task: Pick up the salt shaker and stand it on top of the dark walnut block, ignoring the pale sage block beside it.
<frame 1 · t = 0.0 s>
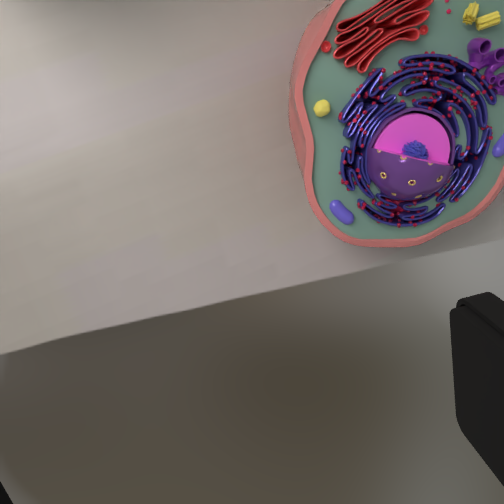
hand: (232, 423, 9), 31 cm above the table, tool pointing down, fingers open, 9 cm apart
cell model: (371, 101, 38), on the table
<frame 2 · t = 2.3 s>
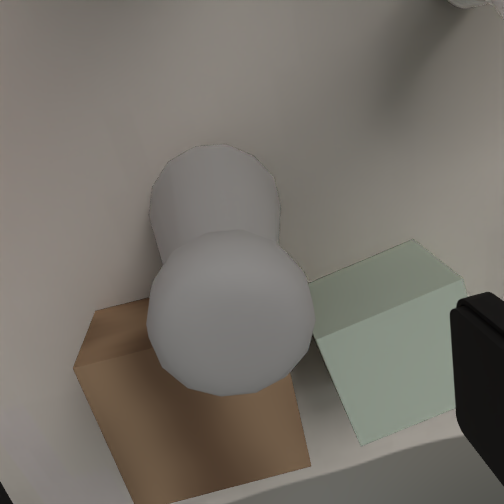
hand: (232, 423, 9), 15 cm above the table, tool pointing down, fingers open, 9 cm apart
walnut block: (200, 358, 26), on the table
sage block: (371, 315, 27), on the table
salt shaker: (213, 194, 23), on the table
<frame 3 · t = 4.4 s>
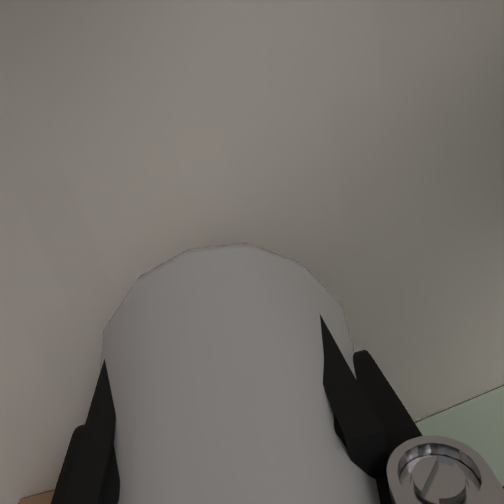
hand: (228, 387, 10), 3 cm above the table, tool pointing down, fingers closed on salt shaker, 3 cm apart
sage block: (469, 479, 17), on the table
salt shaker: (221, 311, 13), on the table, touching gripper
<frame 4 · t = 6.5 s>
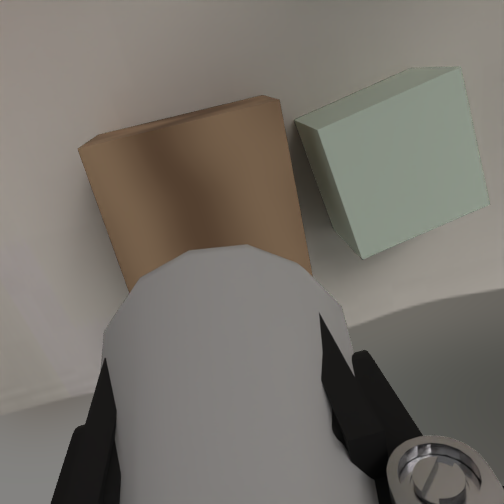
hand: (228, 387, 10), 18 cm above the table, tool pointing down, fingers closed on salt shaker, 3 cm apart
walnut block: (202, 194, 27), on the table
sage block: (370, 152, 27), on the table
salt shaker: (221, 312, 13), point 14 cm above the table, touching gripper
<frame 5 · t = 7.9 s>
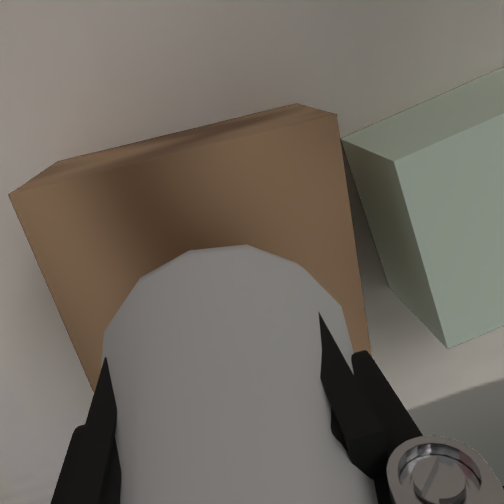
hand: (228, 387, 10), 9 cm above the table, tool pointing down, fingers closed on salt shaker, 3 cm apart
walnut block: (208, 243, 19), on the table
sage block: (445, 183, 19), on the table
salt shaker: (221, 312, 13), point 6 cm above the table, touching gripper
when the fingers open (9 cm above the table, at t = 8.6 s): salt shaker stays where it is, resting on walnut block.
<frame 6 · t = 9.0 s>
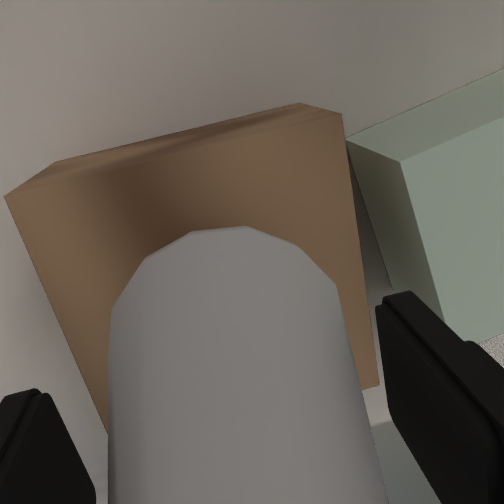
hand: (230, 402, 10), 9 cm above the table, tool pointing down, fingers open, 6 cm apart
walnut block: (209, 245, 18), on the table
sage block: (450, 184, 19), on the table
salt shaker: (222, 294, 14), point 5 cm above the table, touching walnut block
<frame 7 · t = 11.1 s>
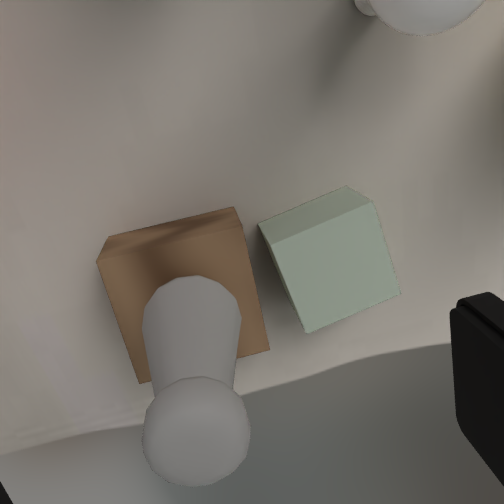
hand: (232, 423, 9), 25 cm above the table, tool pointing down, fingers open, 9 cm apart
walnut block: (187, 278, 34), on the table
sage block: (317, 246, 35), on the table
salt shaker: (191, 303, 30), point 5 cm above the table, touching walnut block
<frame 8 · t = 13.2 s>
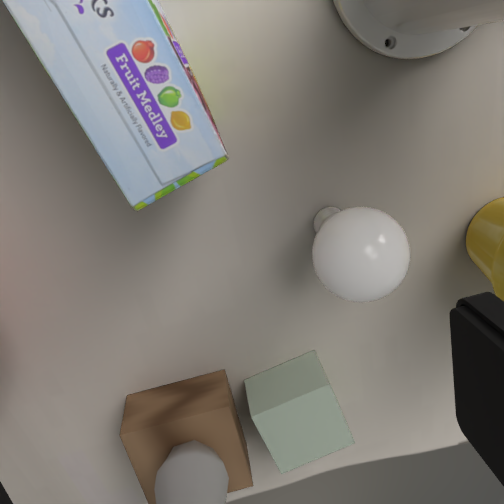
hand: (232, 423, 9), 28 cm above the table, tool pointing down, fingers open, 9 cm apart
lightbulb: (326, 219, 38), on the table
walnut block: (189, 420, 44), on the table
plant pot: (499, 230, 41), on the table
sage block: (292, 392, 44), on the table
salt shaker: (191, 457, 39), point 5 cm above the table, touching walnut block
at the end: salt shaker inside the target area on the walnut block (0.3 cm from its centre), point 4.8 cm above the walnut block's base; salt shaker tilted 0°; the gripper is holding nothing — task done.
